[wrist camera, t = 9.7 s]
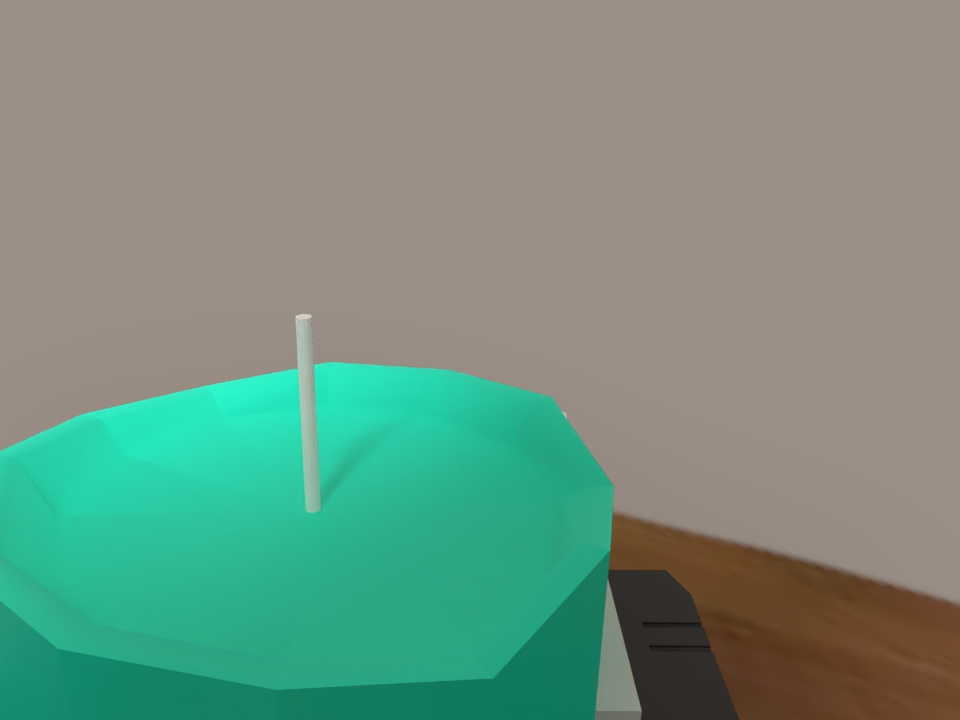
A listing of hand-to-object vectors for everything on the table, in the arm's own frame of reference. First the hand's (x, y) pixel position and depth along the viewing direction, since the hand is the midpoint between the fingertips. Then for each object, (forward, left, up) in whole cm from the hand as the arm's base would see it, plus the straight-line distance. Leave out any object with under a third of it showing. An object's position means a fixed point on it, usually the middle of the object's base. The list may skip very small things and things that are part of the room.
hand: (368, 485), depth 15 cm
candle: (+4, +3, -7) cm, 9 cm away
